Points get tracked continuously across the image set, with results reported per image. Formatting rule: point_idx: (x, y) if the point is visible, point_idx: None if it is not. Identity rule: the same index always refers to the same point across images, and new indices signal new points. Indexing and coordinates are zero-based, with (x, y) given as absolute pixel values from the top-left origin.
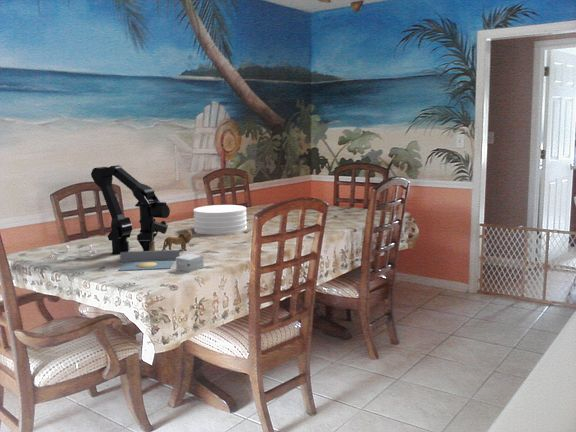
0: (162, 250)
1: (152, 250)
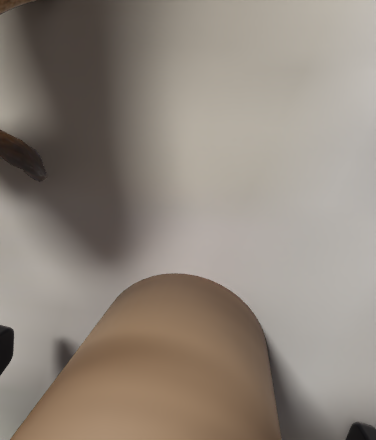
0: (27, 154)
1: (261, 386)
